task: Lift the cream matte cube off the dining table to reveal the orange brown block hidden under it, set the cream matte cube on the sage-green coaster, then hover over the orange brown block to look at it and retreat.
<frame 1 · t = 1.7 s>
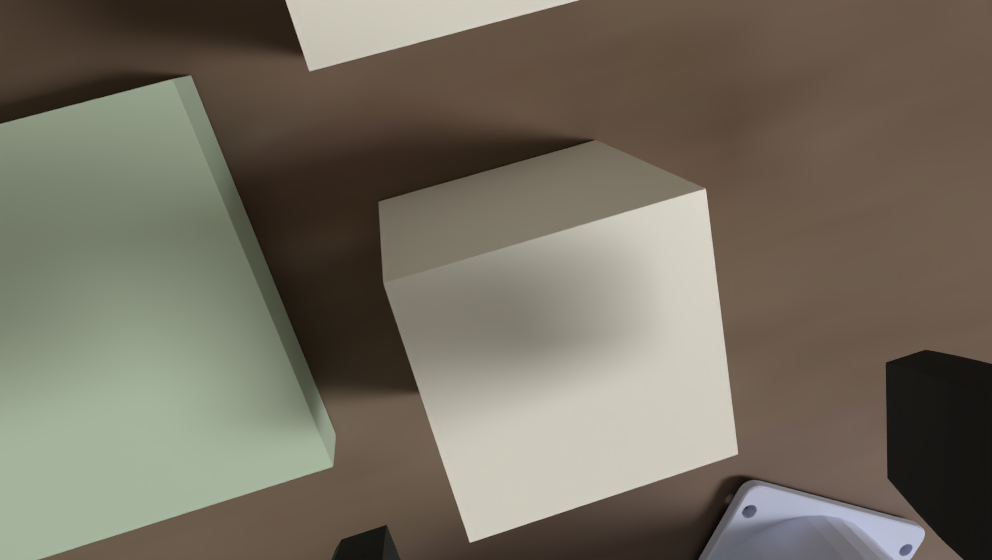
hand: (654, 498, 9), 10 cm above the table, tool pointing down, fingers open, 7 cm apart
coaster: (72, 332, 16), on the table
cream matte cube: (514, 272, 18), on the table
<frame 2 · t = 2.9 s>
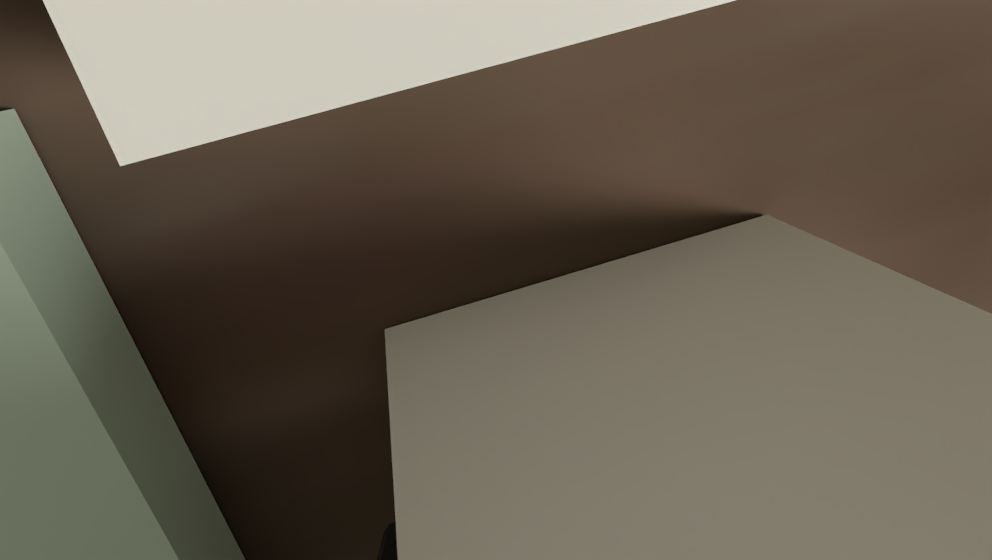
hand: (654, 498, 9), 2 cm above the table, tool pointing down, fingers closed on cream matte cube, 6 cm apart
cream matte cube: (614, 433, 11), on the table, touching gripper
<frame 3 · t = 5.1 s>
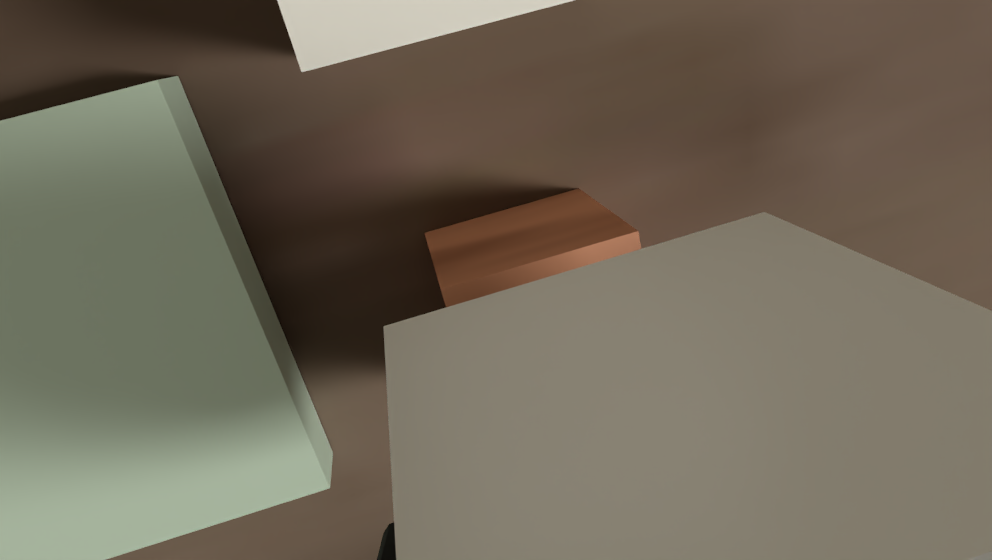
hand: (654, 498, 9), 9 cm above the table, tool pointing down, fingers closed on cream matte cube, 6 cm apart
coaster: (54, 347, 15), on the table
cream matte cube: (612, 431, 11), point 7 cm above the table, touching gripper
orange brown block: (537, 311, 15), on the table
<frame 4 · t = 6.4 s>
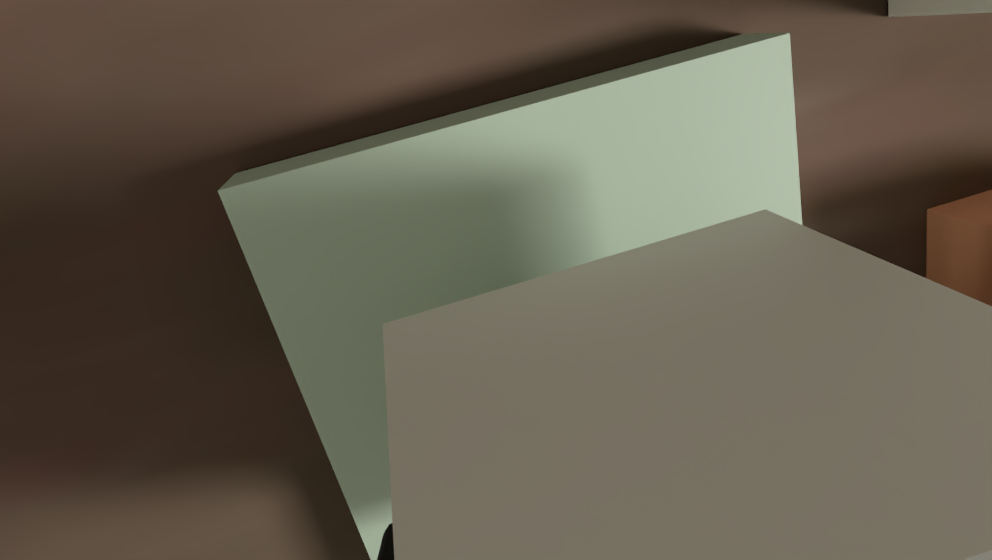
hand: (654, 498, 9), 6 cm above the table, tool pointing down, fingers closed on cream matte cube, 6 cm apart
coaster: (551, 332, 14), on the table
cream matte cube: (612, 429, 10), point 4 cm above the table, touching gripper
when the fingers open (4 cm above the table, at t = 7.2 s): cream matte cube drops 1 cm, resting on coaster.
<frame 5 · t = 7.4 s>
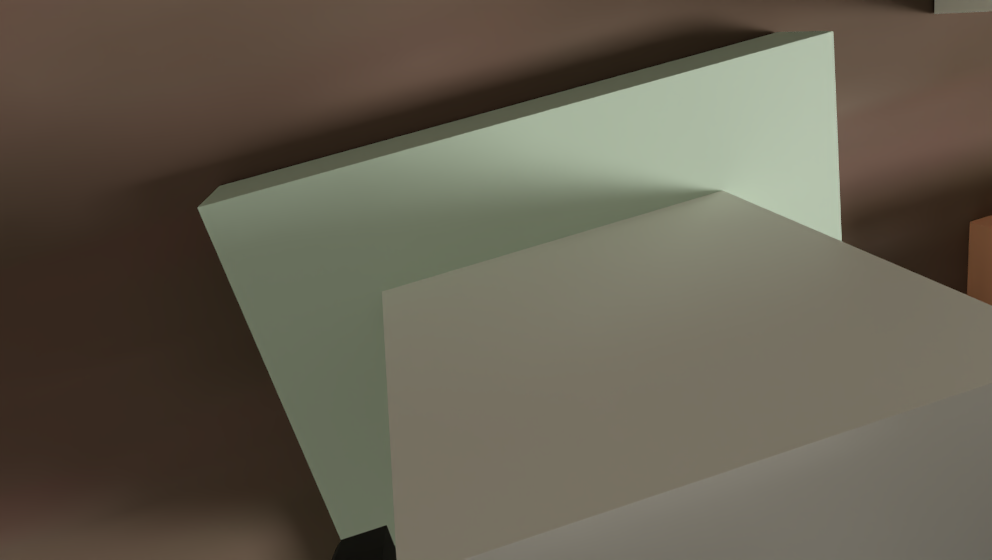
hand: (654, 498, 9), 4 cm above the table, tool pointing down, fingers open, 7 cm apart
coaster: (565, 355, 13), on the table
cream matte cube: (588, 389, 12), point 1 cm above the table, touching coaster
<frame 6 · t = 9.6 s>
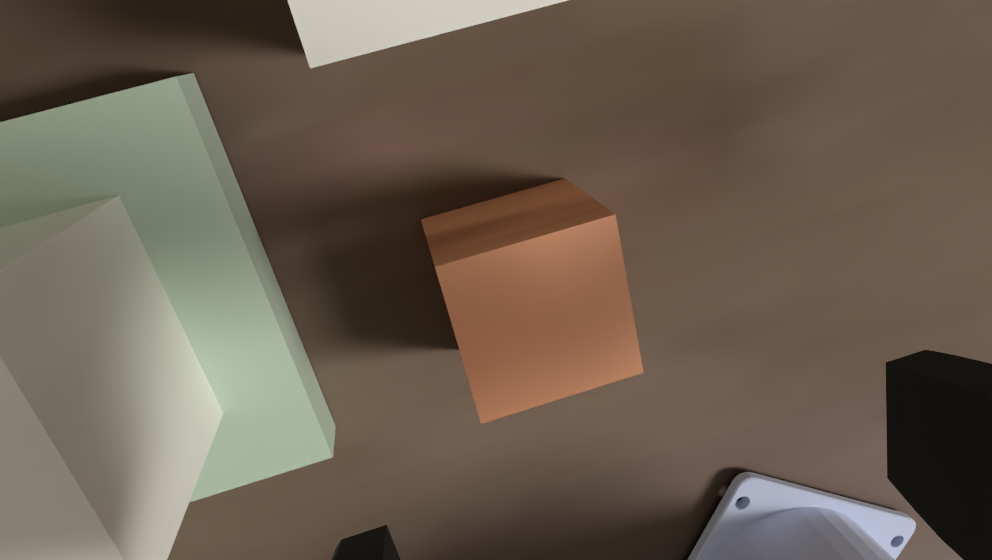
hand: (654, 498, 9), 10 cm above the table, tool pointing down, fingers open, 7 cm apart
coaster: (77, 325, 17), on the table
cream matte cube: (49, 348, 15), point 1 cm above the table, touching coaster
orange brown block: (525, 291, 16), on the table
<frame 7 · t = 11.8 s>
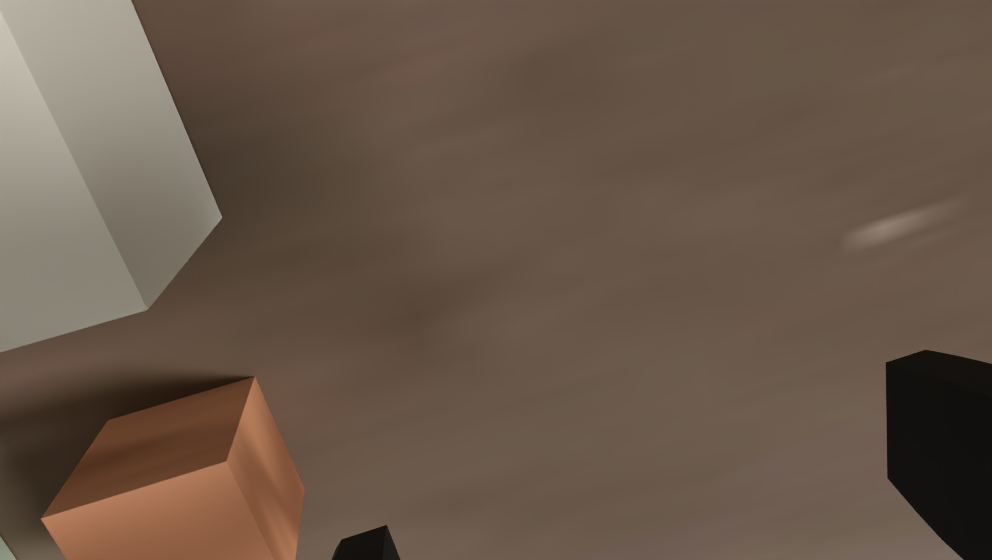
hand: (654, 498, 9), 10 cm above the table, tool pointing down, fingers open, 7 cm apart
cover b: (47, 134, 15), on the table
orange brown block: (194, 501, 17), on the table
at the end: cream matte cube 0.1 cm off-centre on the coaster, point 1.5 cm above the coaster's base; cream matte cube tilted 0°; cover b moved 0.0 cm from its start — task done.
